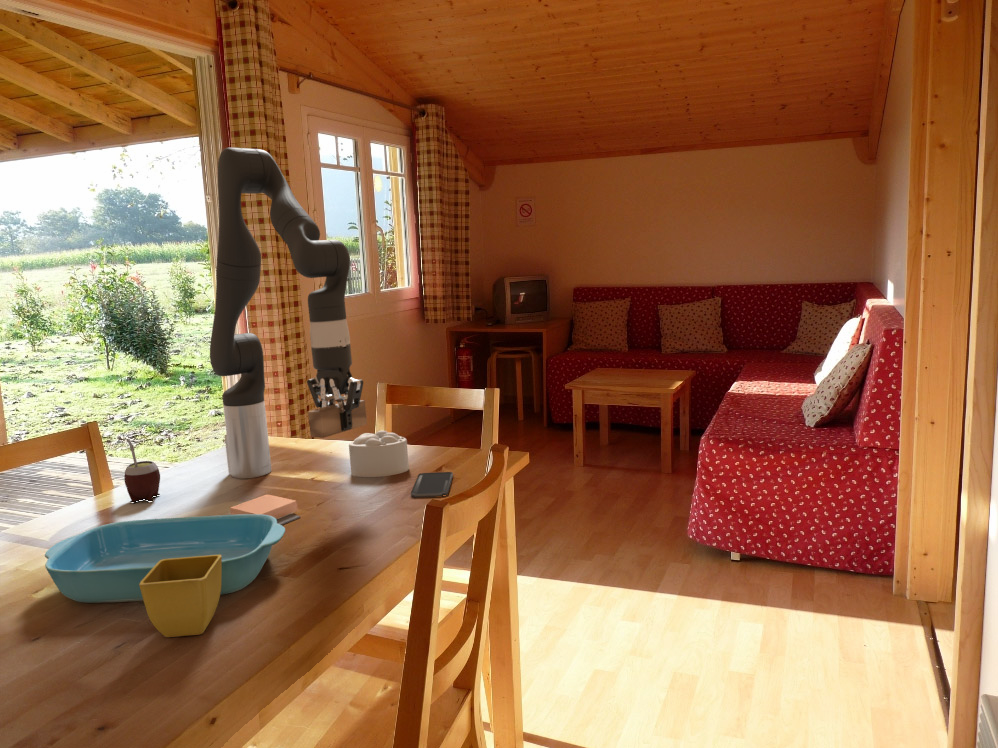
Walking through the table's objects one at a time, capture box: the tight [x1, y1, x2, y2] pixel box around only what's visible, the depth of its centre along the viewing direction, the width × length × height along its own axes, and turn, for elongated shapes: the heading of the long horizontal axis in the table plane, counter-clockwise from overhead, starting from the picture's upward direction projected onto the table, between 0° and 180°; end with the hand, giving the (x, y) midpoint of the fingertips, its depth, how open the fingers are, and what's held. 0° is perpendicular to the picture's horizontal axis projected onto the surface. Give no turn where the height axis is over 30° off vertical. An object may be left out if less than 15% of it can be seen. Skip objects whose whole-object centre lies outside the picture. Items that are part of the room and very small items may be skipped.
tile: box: [229, 494, 298, 520], centre depth 153 cm, size 9×2×9 cm
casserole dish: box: [44, 514, 286, 604], centre depth 126 cm, size 37×22×7 cm, turn 94°
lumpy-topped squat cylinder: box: [348, 429, 410, 478], centre depth 181 cm, size 10×13×9 cm
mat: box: [228, 513, 301, 526], centre depth 153 cm, size 14×8×1 cm, turn 55°
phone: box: [410, 471, 454, 499], centre depth 168 cm, size 8×1×15 cm
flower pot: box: [139, 555, 222, 638], centre depth 108 cm, size 9×9×9 cm
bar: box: [307, 399, 368, 439], centre depth 154 cm, size 4×12×5 cm, turn 146°
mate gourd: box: [123, 438, 161, 502], centre depth 167 cm, size 8×8×15 cm
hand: (339, 429), depth 154 cm, fingers closed on bar, 3 cm apart
